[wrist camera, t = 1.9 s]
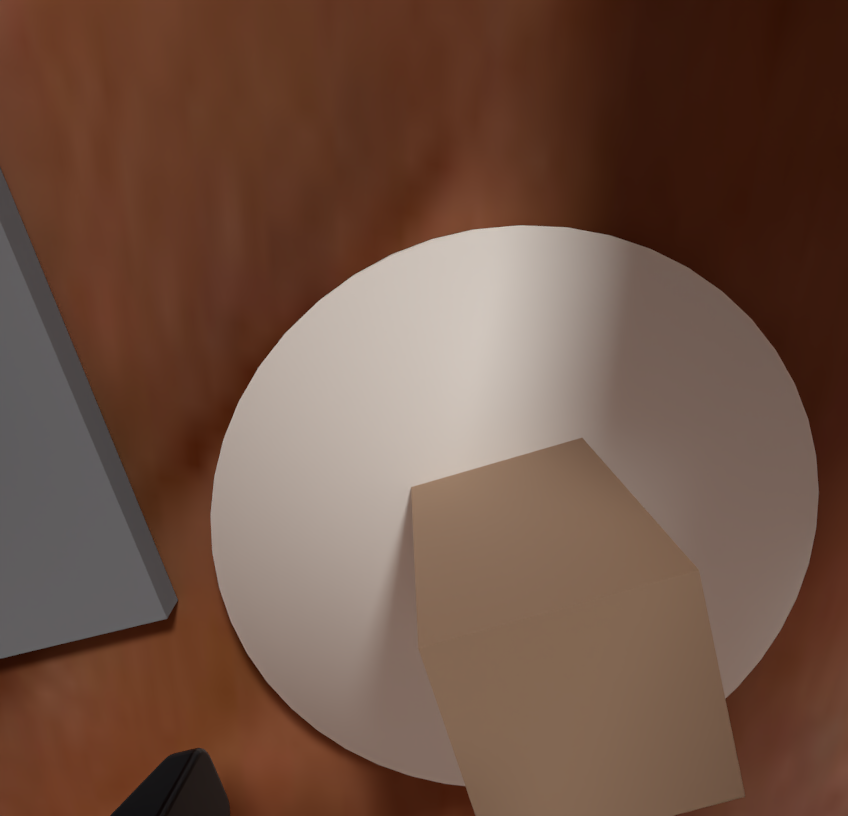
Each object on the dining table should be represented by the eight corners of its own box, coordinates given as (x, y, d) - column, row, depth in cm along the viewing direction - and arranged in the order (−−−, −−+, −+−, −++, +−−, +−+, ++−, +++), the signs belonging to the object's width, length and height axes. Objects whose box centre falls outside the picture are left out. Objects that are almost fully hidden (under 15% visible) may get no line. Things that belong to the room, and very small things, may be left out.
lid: (737, 145, 11) (1054, 64, 6) (820, 672, 14) (1086, 951, 8) (134, 329, 11) (-97, 414, 6) (331, 804, 14) (289, 1150, 9)
